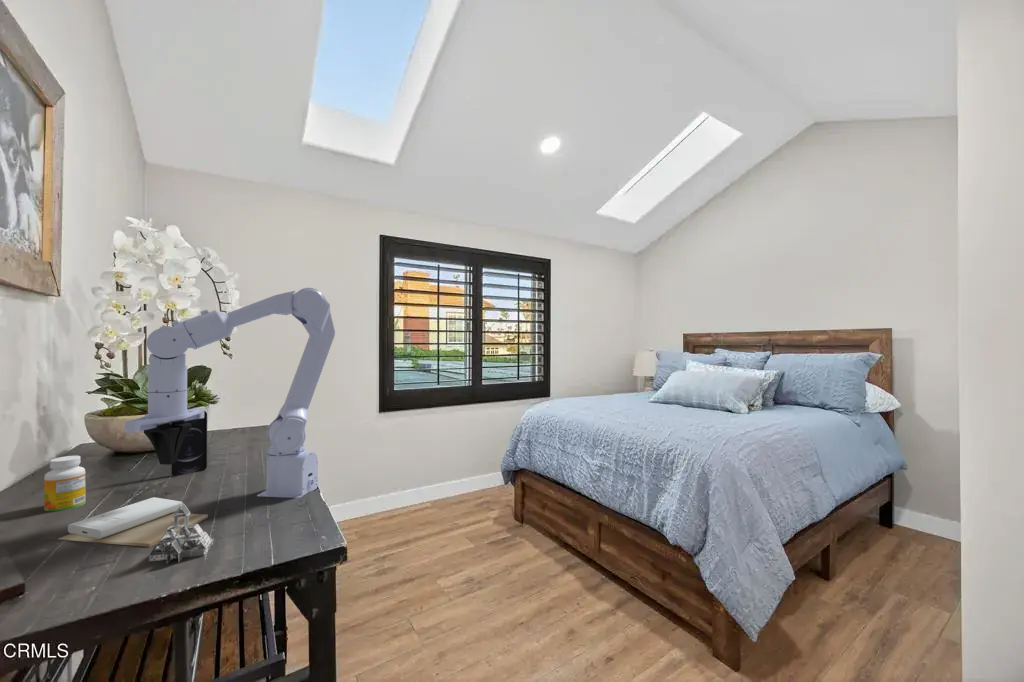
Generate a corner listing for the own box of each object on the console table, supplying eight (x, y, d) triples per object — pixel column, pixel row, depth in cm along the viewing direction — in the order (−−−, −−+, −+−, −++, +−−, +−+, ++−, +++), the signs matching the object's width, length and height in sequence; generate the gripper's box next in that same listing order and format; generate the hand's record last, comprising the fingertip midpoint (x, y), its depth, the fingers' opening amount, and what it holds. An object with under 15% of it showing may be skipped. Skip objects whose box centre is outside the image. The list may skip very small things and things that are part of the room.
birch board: (207, 517, 76) (207, 514, 76) (150, 547, 65) (150, 543, 65) (127, 514, 78) (127, 511, 78) (57, 542, 67) (57, 538, 67)
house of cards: (111, 586, 56) (111, 527, 56) (146, 554, 64) (147, 503, 64) (191, 575, 58) (191, 519, 58) (215, 545, 66) (215, 497, 66)
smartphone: (170, 478, 98) (170, 414, 98) (169, 478, 98) (169, 413, 98) (207, 470, 104) (207, 409, 104) (205, 469, 105) (206, 409, 105)
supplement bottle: (44, 509, 80) (44, 458, 80) (84, 501, 84) (84, 453, 84) (43, 517, 76) (43, 464, 76) (86, 509, 80) (86, 458, 80)
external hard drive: (183, 510, 78) (101, 540, 66) (152, 505, 81) (67, 533, 69) (183, 501, 78) (101, 529, 66) (152, 496, 81) (67, 523, 69)
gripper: (182, 386, 87) (181, 452, 87) (108, 395, 72) (108, 474, 72) (213, 387, 86) (213, 453, 86) (145, 396, 72) (145, 476, 72)
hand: (167, 463), depth 79 cm, fingers closed
